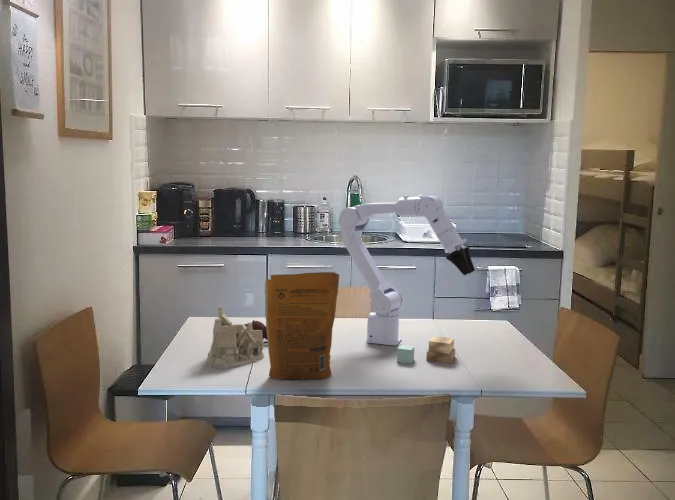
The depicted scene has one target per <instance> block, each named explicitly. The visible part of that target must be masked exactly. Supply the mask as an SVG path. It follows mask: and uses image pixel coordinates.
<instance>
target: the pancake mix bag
mask: <svg viewBox="0 0 675 500" xmlns="http://www.w3.org/2000/svg"><path fill="white" fill-rule="evenodd" d="M339 283H340V274H338V273H337V272H333V271H332V272H331V271H328V272H327V271H322V272H321V271H320V272H318V271H317V272H303V273H292V274H289V273H287V274H270V278H265V283H264V316H265V326H266V329H267V338H268V340H267V347H268V348H267V349H268V357H269V363H270V364H269V366H270V367H269V373H268V377H269V378H272V379H274V378H276V379H275V380H277V379H280V380H279V381H292V380H293V381H294V380H295V381H296V380H299V381H300V380H324V379H327V378H329V377H331V376H332V375H333V374H332V369H331V363H330V362H331V361H330V360H331V349H332V342H333V341H332V339H333V328H334V322H335V317H336V312H337V311H336V309H337V300H338V294H339Z"/></svg>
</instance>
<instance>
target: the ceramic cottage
mask: <svg viewBox="0 0 675 500" xmlns="http://www.w3.org/2000/svg"><path fill="white" fill-rule="evenodd" d="M217 316H218V317H217V318H215V319H214V323H213V329H212V343H211V345H210V350H209V351H208V353H207V362H206V363H207V366H208V367H210V368H216V369H232V368H239V367H241V366H245V364H246V365H249V364H251V363H256V362H258V360H259V361H262V360H264V358H265V356H264V355H265V354H264V352H263V351H264V346H265V345H264V343H265V342H264V339H263V338H262V337H263V336H262V330H252V321H251V322H247V324H248V326H247V327H246V326H245V325H244V323H242V324H239V323H238V324H233V322H232V321H230V319H229V318H228V317H227V314H226V313H224V309H223V306H222V305H220V306H218V307H217ZM248 363H249V364H248Z"/></svg>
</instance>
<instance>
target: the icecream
mask: <svg viewBox="0 0 675 500" xmlns="http://www.w3.org/2000/svg"><path fill="white" fill-rule="evenodd" d="M251 323H252V330H262V336H263V337H262V338H263V340H265V341H268V338H267V329H266V324H264V323H263V322H262V321H259V320H255V319H253V320H252V321H251ZM243 324H244V323H243ZM244 325H245V326H246V327H247V326H248V323H245V324H244Z"/></svg>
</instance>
